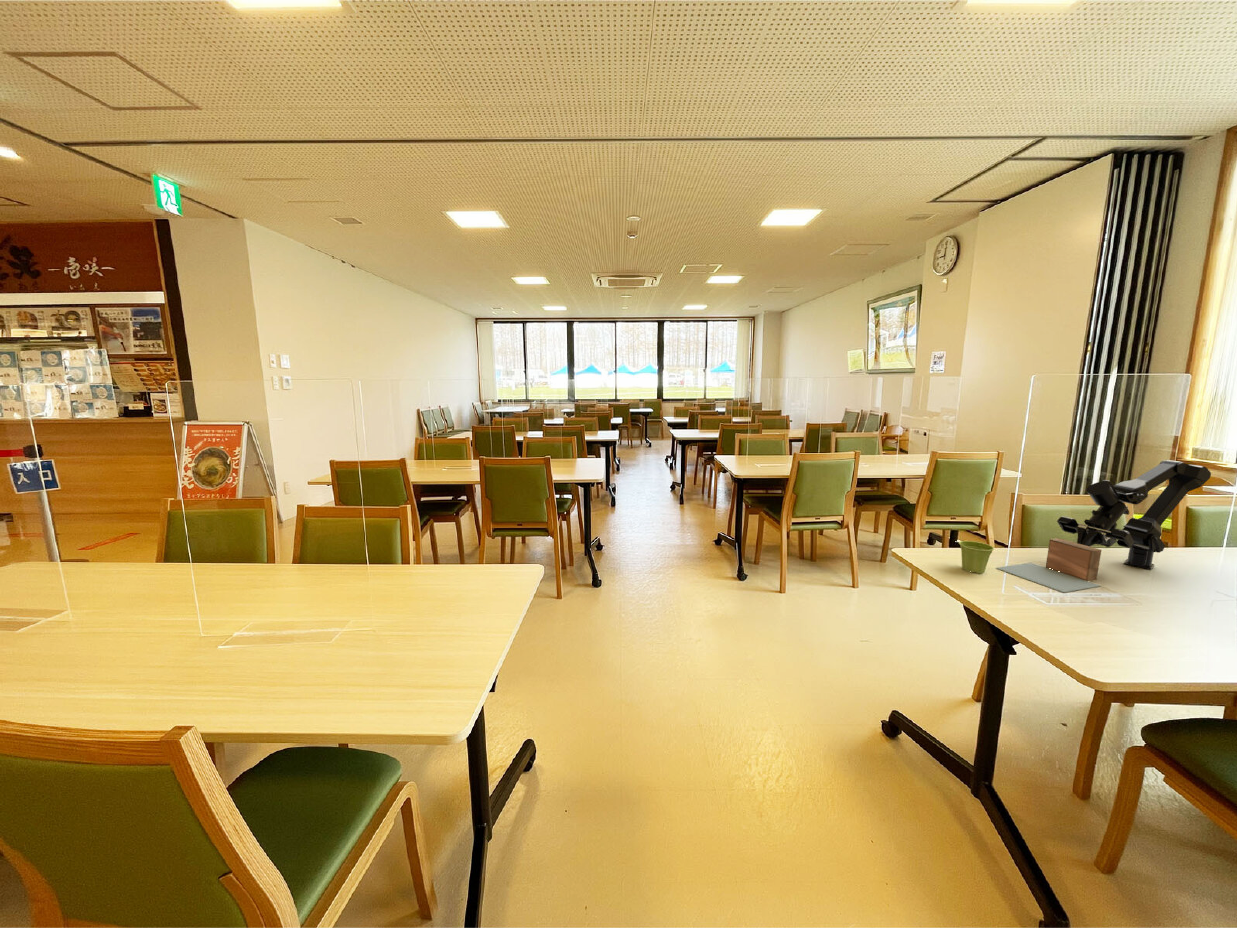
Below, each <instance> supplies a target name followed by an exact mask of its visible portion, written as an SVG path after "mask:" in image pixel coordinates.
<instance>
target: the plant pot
mask: <svg viewBox="0 0 1237 928" xmlns="http://www.w3.org/2000/svg"><path fill="white" fill-rule="evenodd" d="M958 545H960V549H961V568H962V569H963V571H967V572H969V571H971V572H970V573H977V574H984V573H985V572H986V568H987V565H988V562H989V559H990V557H991V554H992V553H993V551H994V550H995V547H994V546H992V545H991V544H987V543H985V542H984V543H983V542H979V541H973V540H961V541H959V542H958ZM983 572H984V573H983Z"/></svg>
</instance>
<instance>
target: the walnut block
mask: <svg viewBox="0 0 1237 928" xmlns="http://www.w3.org/2000/svg"><path fill="white" fill-rule="evenodd" d="M1101 556H1102V549H1100V548H1097V547H1093V546H1090V547H1089V546H1086V545H1082V544H1078V543H1077V542H1075V541H1071V540H1067V539H1064V538H1059V537H1056V538H1050V539H1049V543H1048V550H1047V555H1046V564H1045V567H1046V568H1051V569H1053V570H1055V571H1060V572H1061V573H1064V574H1067V575H1070V576H1073V577H1076V578H1079V579H1082V580H1085V581H1088V582H1091V581H1092V582H1093V581H1097V578H1098V572H1099V568H1100V561H1101Z"/></svg>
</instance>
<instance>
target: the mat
mask: <svg viewBox="0 0 1237 928" xmlns="http://www.w3.org/2000/svg"><path fill="white" fill-rule="evenodd" d="M996 568H997V570H999V571H1002V572H1005V573H1008V574H1010V575H1012V576H1015V577H1018V578H1021V579H1024V580H1027V581H1029V582H1032V583H1036V584H1038V585H1039V586H1043V585H1044V586H1043V587H1046V588H1048V587H1049V589H1051V588H1053V589H1052V590H1054V589H1055V591H1057V592H1059V593H1063V594H1066V593H1073V592H1077V591H1083V590H1089V589H1095V588H1099V587H1102V585H1100V584H1097V583H1094V582H1091V581H1085V580H1082V579H1079V578H1076V577H1073V576H1070V575H1067V574H1064V573H1061V572H1058V571H1055V570H1052V569H1049V568H1046V566H1043V565H1040V564H1036V563H1034V562H1026V563H1018V564H1011V565H1006V566H1005V565H1004V566H998V567H996Z"/></svg>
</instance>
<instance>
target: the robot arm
mask: <svg viewBox="0 0 1237 928" xmlns="http://www.w3.org/2000/svg"><path fill="white" fill-rule="evenodd" d="M1211 475H1212V472H1211V470H1209V469H1208V467H1206V466H1203V465H1196V464H1188V463H1185V462H1182V461H1179V460H1178V461H1176V460H1170V459H1166V460H1165V459H1164V460H1161V461H1160V462H1159V464H1158V465H1156V466H1154V467H1152V468H1151V469H1149V470H1148V471H1146V472H1144V473H1143V474H1141V475H1140V476H1138V477H1136V478H1134V479H1130V480H1124V481H1121V482H1118V483H1117V484H1114V485H1113V483H1112V481H1111V480H1106V479H1102V480H1101V481H1099V482H1094V483H1092V484H1089V485H1088V486H1087V488H1086V492H1087V494H1088V495H1089V497H1090V498H1091V499H1092V501H1093V502H1094V503H1095V505H1097V506H1099V507H1098V508H1097V509H1096V510H1094V509H1093V510H1092V511H1091V514H1092V515H1091V516H1090V518H1088V519H1086V518H1085V519H1084V521H1083V522H1084V523H1082V522H1079V523H1078V521H1077V520H1076V518H1072V517H1069V516H1060V517H1059V518H1058V519H1057V520H1056V522H1057V524H1058V525H1059V527H1060V529H1061V530H1062V531H1063V532H1065V533H1068V534H1072V535H1074V534H1077V540H1076V543H1078V544H1082V545H1086V546H1089V547H1093V546H1094V545H1100V546H1104V547H1106V548H1110V547H1112V546H1113V545H1115V544H1116V543H1117V545H1118V546H1119V547H1123V548H1127V549H1128V555H1127V558H1126V559H1125V561H1123V564H1124V565H1128V566H1131V565H1132V567H1137V568H1141V569H1146V570H1152V569H1153V568H1154V566H1155V564H1154V563H1153V558H1154V555H1155V553H1161V552H1163V551H1164V550H1165V548H1166V545H1165V543H1164V542H1163V540H1162V539H1161V536H1162V535H1163V534H1162V528H1161V526H1162V525H1163V523H1164V522H1165V521H1166V519H1168V517H1169V516H1170V515H1171V514H1172V513H1173V511H1174V510H1175V509H1176V508H1177V506H1178V505H1179V504H1180V502H1182V500H1183V499H1184V498H1185V497H1186V495H1187V494H1188V493H1189V492H1191V491H1194V490H1196V489H1200V488H1201V487H1202V486H1204V484H1205V483H1207V482H1208V480H1210V478H1211ZM1166 481H1168V485H1167V486H1166V487H1165V488H1164V489H1163V491H1162V492H1161V493H1160V494H1159V495H1158V497H1157V498H1156V499H1155V500H1154V502H1153V503H1152V504H1151V505H1150V507H1149V508H1148V509H1147V511H1145V512H1144V514H1143V515H1142V516H1141V517H1139V518H1135V517H1131V518H1129V520H1128V521H1127V522H1126V524H1125V525H1123V528H1122V529H1119V528H1117V526H1118V524H1117V522H1118V520H1120V518H1121V517H1122V516H1123V515H1127V516H1128V515H1130V510H1129V507H1128V506H1127V505H1126V504H1130V505H1139V504H1140V503H1142V502H1144V501H1145V500H1146V498H1148V497H1149V496H1148V495H1149V492H1150V491H1152V490H1153V489H1155V488H1156V487H1158V486H1160V485H1161V484H1163V483H1164V482H1166Z"/></svg>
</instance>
